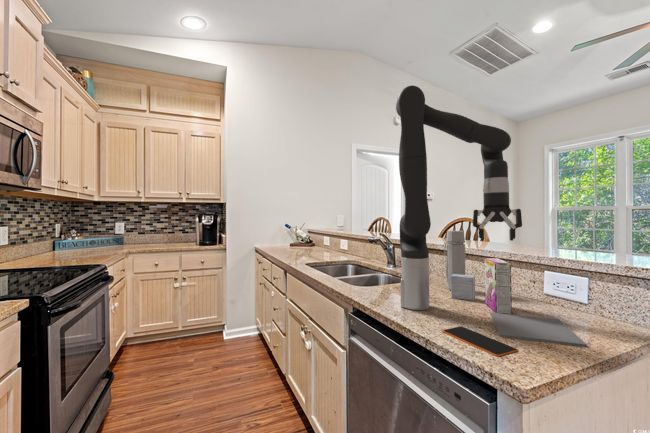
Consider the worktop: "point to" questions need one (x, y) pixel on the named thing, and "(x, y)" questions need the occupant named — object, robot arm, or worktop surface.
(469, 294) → the medicine box
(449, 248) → the water bottle
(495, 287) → the candy bar box
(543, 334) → the rubber mat
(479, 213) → the robot arm
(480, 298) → the worktop surface
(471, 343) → the smartphone
